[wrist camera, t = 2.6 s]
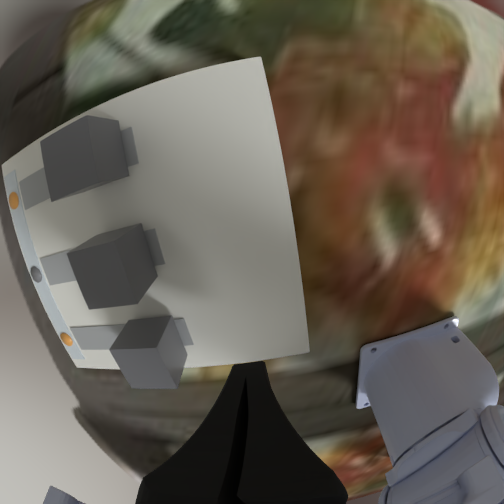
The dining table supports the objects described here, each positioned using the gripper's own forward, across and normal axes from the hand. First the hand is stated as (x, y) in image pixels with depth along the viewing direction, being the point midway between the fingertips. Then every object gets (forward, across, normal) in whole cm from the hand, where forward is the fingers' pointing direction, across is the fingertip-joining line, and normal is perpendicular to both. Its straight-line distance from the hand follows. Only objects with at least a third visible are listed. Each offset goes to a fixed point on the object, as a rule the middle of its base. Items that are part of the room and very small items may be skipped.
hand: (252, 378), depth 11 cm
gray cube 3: (+4, +6, -11) cm, 13 cm away
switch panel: (+6, +6, -5) cm, 10 cm away
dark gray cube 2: (+4, +6, -5) cm, 9 cm away
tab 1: (+4, +6, 0) cm, 7 cm away
